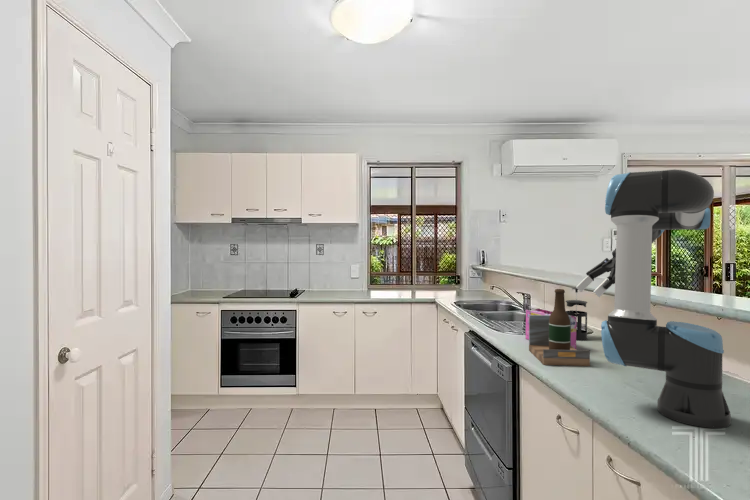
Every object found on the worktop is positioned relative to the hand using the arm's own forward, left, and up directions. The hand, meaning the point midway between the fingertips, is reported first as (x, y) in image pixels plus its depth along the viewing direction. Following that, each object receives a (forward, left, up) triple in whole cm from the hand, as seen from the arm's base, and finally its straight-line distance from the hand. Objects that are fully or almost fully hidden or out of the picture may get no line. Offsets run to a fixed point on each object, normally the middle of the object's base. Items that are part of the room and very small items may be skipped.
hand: (587, 291), depth 160 cm
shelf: (+1, +10, -25) cm, 27 cm away
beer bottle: (-1, +10, -23) cm, 25 cm away
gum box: (+23, +6, -26) cm, 35 cm away
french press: (+35, -9, -26) cm, 44 cm away
